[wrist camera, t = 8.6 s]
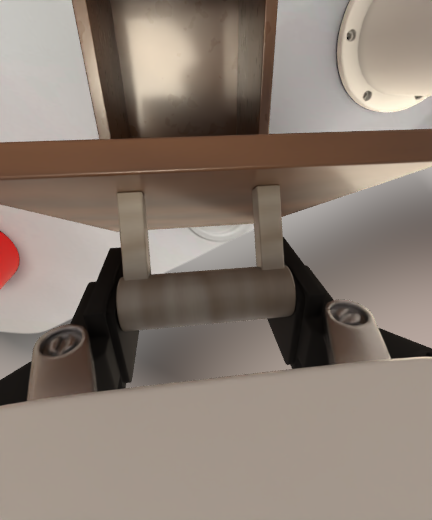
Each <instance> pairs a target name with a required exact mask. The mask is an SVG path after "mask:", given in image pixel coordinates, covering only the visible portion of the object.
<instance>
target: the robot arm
mask: <svg viewBox="0 0 432 520" xmlns="http://www.w3.org/2000/svg"><path fill="white" fill-rule="evenodd" d="M347 34H348V35H349V38H348V40H347ZM337 61H338V70H339V74H340V77H341V81H342V84H343V85H344V87H345V89H346V91H347V93H348V94H349V95H350V97H351V98H352V99H353V100H354V101H355V102H356V103H358V104H359V105H361V106H362V107H364V108H366V109H369V110H372V111H378V112H396V111H400V110H404V109H407V108H409V107H411V106H414V105H416V104H418V103H419V102H421V101H422V100H424V99H425V98H427V97H428V96H432V0H350V2H349V4H348V6H347V8H346V11H345V14H344V17H343V20H342V23H341V27H340V32H339V37H338V45H337ZM363 95H364V97H363ZM283 254H284V265H286V266H287V267H288V268H289V269H290V271H291V273H292V276H293V280H294V284H295V290H296V305H295V310H294V313H293V314H292V315H291V316H289V317H279V318H268V321H269V324H270V327H271V329H272V331H273V334H274V336H275V339H276V341H277V344H278V346H279V348H280V351H281V353H282V356H283V358H284V361H285V363H286V364H287V365H289V364H291V366H292V369H289V370H280V371H271V372H262V373H253V374H244V375H235V376H227V377H218V378H209V379H201V380H193V381H183V382H175V383H167V384H159V385H150V386H141V387H133V388H125V387H126V383H128V382H131V381H132V375H133V369H134V362H135V355H136V348H137V341H138V334H139V330H137V331H123V330H122V329H121V327H120V324H119V321H118V316H117V306H116V295H117V286H118V282H119V280H120V278H121V277H123V265H122V253H121V248H110V250H109V252H108V255H107V257H106V260H105V262H104V264H103V267H102V269H101V272H100V274H99V277H98V279H97V282H90V283H89V284H88V285H87V288H86V290H85V292H84V294H83V297H82V299H81V301H80V303H79V306H78V308H77V310H76V312H75V315H74V317H73V319H72V321H71V324H68V325H62V326H59V327H56V328H53V329H52V330H50V331H48V332H46V333H45V334H44V335H42V336H41V337H40V338H39V339H38V340H37V342H36V343H35V345H34V348H33V353H32V361H31V362H29V363H28V364H26V365H24V366H23V367H21V368H20V369H18V370H16V371H14V372H13V373H11V374H10V375H8V376H6V377H5V378H3V379H1V380H0V520H432V349H431V348H429V347H426V346H424V345H421V344H419V343H416V342H413V341H411V340H408V339H406V338H403V337H400V336H398V335H395V334H393V333H390V332H387V331H385V330H383V329H380V328H378V327H377V324H376V322H375V319H374V317H373V315H372V314H371V312H370V311H369V310H368V309H367V308H365V307H364V306H362V305H360V304H359V303H356V302H353V301H349V300H333V299H332V297H331V296H330V295H329V293H328V292H327V291H326V290H325V288H324V287H323V286H322V284H321V283H320V282H319V280H318V279H317V278H316V277H315V275H314V274H313V272H312V271H311V270H310V268H309V267H308V266H305V265H304V264H303V262H302V261H301V260H300V258H299V257H298V256H297V255H296V253H295V252H294V250H293V249H292V248H291V247H290V245H289V244H288V242H287V241H286V240H285V239H284V237H283Z"/></svg>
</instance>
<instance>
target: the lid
mask: <svg viewBox="0 0 432 520" xmlns="http://www.w3.org/2000/svg"><path fill="white" fill-rule="evenodd" d="M429 167H432V129H414V130H382V131H351V132H319V133H287V134H255V135H223V136H191V137H159V138H128V139H96V140H64V141H32V142H0V204H1V205H5V206H10V207H14V208H18V209H22V210H27V211H31V212H35V213H39V214H44V215H48V216H52V217H56V218H61V219H65V220H69V221H73V222H78V223H82V224H86V225H90V226H95V227H99V228H103V229H107V230H112V231H116V232H119V231H120V241H121V253H122V265H123V277H121V278H120V280H119V282H118V286H117V295H116V306H117V316H118V321H119V324H120V327H121V329H122V330H123V331H137V330H147V329H158V328H169V327H180V326H191V325H201V324H213V323H224V322H235V321H246V320H257V319H268V318H279V317H289V316H291V315H292V314H293V313H294V310H295V305H296V290H295V284H294V280H293V276H292V273H291V271H290V269H289V268H288V267H287V266H286V265H284V254H283V236H282V221H281V220H282V218H281V217H283V216H286V215H289V214H292V213H295V212H298V211H301V210H304V209H307V208H310V207H313V206H316V205H318V204H321V203H325V202H328V201H331V200H334V199H337V198H339V197H342V196H346V195H349V194H352V193H355V192H358V191H360V190H363V189H366V188H369V187H372V186H375V185H378V184H381V183H384V182H387V181H390V180H393V179H396V178H399V177H402V176H405V175H408V174H411V173H414V172H417V171H420V170H423V169H426V168H429ZM252 223H254V232H255V249H256V265H257V267H248V268H234V269H221V270H207V271H193V272H181V273H166V274H153V275H151V267H150V254H149V241H148V230H152V229H169V228H186V227H202V226H219V225H235V224H252Z"/></svg>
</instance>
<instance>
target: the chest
mask: <svg viewBox="0 0 432 520" xmlns="http://www.w3.org/2000/svg"><path fill="white" fill-rule="evenodd" d="M72 4H73V9H74V14H75V19H76V24H77V29H78V34H79V39H80V44H81V49H82V54H83V59H84V64H85V69H86V74H87V79H88V84H89V89H90V94H91V99H92V104H93V109H94V114H95V119H96V124H97V129H98V134H99V139H128V138H159V137H191V136H223V135H255V134H269V121H270V106H271V92H272V78H273V64H274V49H275V35H276V21H277V7H278V0H72Z"/></svg>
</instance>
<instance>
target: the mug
mask: <svg viewBox="0 0 432 520" xmlns="http://www.w3.org/2000/svg"><path fill="white" fill-rule="evenodd" d="M18 266H19V254H18V251H17V249H16V247H15V245H14V244H13V242H12V241H11V240H10V239H9V238H8V237H7V236H6V235H5V234H3V233H2V232H1V231H0V289H1V288H2V287H3V286H4V285H5V283H6V282H7V281H8V280H9V279H10V278H11V277H12V276H13V274H14V273H15V272H16V271H17V269H18Z"/></svg>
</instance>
